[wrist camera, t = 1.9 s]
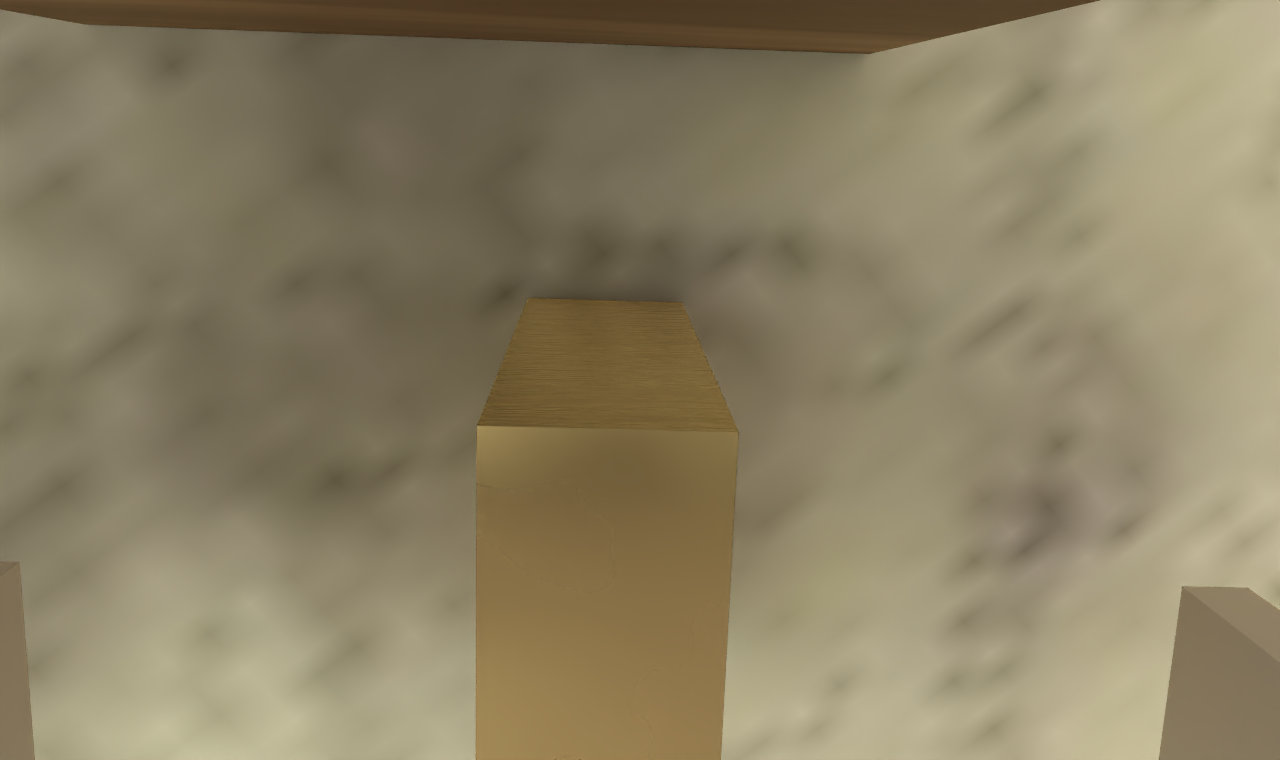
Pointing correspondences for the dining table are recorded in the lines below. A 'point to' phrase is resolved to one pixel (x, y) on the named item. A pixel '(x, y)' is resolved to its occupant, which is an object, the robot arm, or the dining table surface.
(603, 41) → the tip box
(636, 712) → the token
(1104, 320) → the dining table surface
